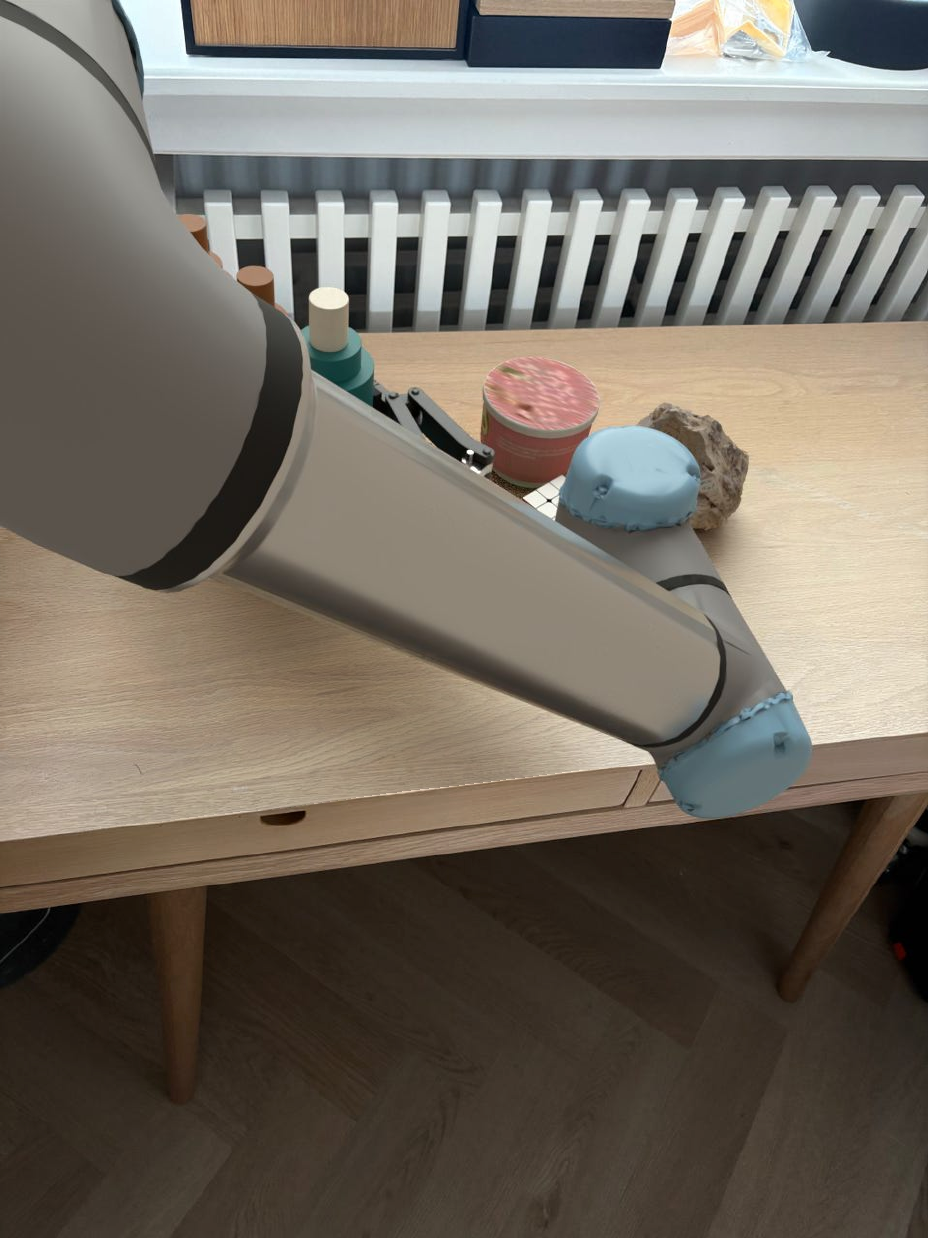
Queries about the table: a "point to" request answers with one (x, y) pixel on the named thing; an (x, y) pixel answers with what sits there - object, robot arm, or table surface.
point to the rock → (706, 461)
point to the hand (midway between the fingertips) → (289, 383)
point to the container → (536, 418)
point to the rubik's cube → (546, 497)
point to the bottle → (337, 344)
